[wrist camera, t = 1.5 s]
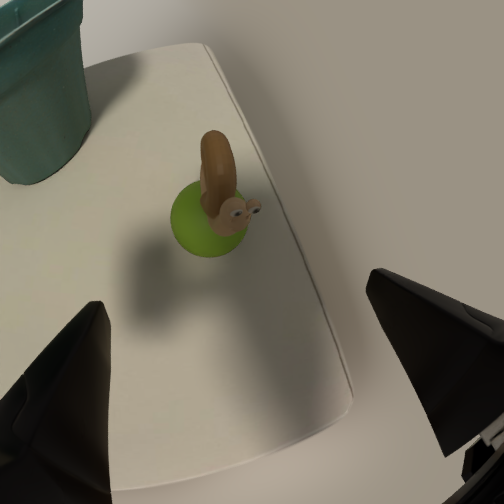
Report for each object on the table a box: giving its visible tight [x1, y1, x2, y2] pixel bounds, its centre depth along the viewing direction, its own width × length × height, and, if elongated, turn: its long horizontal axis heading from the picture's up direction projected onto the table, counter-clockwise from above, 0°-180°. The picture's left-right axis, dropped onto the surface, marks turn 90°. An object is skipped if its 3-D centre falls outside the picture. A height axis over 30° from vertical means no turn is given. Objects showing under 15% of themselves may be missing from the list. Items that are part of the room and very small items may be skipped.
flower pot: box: [0, 0, 91, 185], centre depth 13 cm, size 16×16×16 cm
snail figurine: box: [170, 130, 261, 257], centre depth 15 cm, size 5×6×12 cm
